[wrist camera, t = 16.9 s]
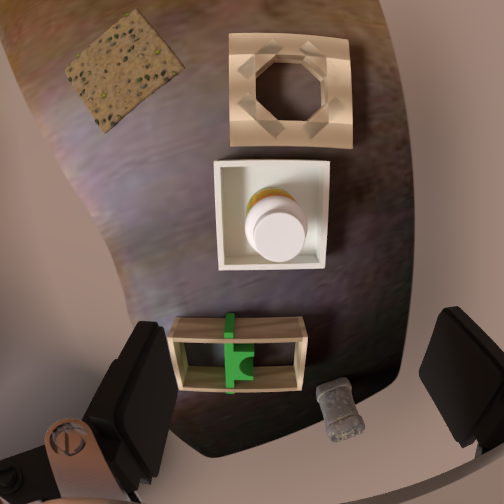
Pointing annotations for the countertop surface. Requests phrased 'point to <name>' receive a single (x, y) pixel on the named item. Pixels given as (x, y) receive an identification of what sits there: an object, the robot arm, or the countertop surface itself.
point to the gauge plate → (315, 61)
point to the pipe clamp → (236, 356)
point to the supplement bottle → (275, 224)
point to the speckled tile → (122, 69)
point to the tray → (249, 182)
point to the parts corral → (243, 333)
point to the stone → (339, 410)
